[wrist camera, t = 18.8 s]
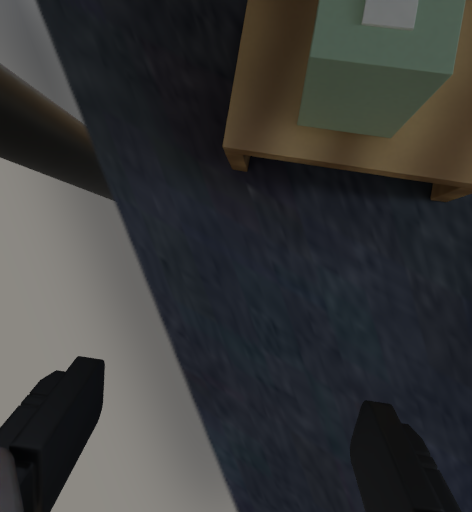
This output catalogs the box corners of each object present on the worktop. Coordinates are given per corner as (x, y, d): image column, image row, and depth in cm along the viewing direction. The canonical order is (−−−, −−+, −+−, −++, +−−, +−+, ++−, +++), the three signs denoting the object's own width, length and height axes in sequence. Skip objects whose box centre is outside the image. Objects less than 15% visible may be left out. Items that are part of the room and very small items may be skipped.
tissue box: (296, 125, 24) (309, 54, 16) (319, -5, 24) (344, -144, 16) (390, 138, 23) (454, 72, 15) (413, 5, 23) (490, -133, 15)
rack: (232, 169, 30) (215, 130, 21) (261, 2, 30) (256, -108, 21) (446, 202, 29) (526, 175, 20) (477, 26, 29) (571, -81, 20)
